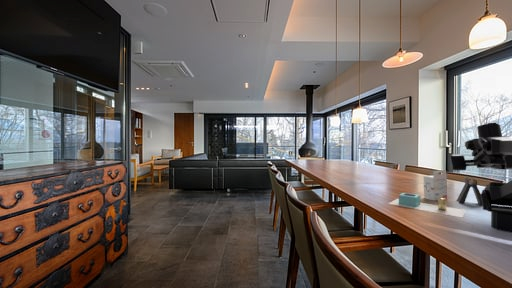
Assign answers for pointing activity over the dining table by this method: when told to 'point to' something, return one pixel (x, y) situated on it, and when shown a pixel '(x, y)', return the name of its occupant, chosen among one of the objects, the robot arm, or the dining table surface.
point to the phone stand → (466, 189)
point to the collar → (409, 200)
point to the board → (432, 208)
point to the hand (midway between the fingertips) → (475, 167)
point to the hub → (442, 204)
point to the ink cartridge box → (435, 185)
